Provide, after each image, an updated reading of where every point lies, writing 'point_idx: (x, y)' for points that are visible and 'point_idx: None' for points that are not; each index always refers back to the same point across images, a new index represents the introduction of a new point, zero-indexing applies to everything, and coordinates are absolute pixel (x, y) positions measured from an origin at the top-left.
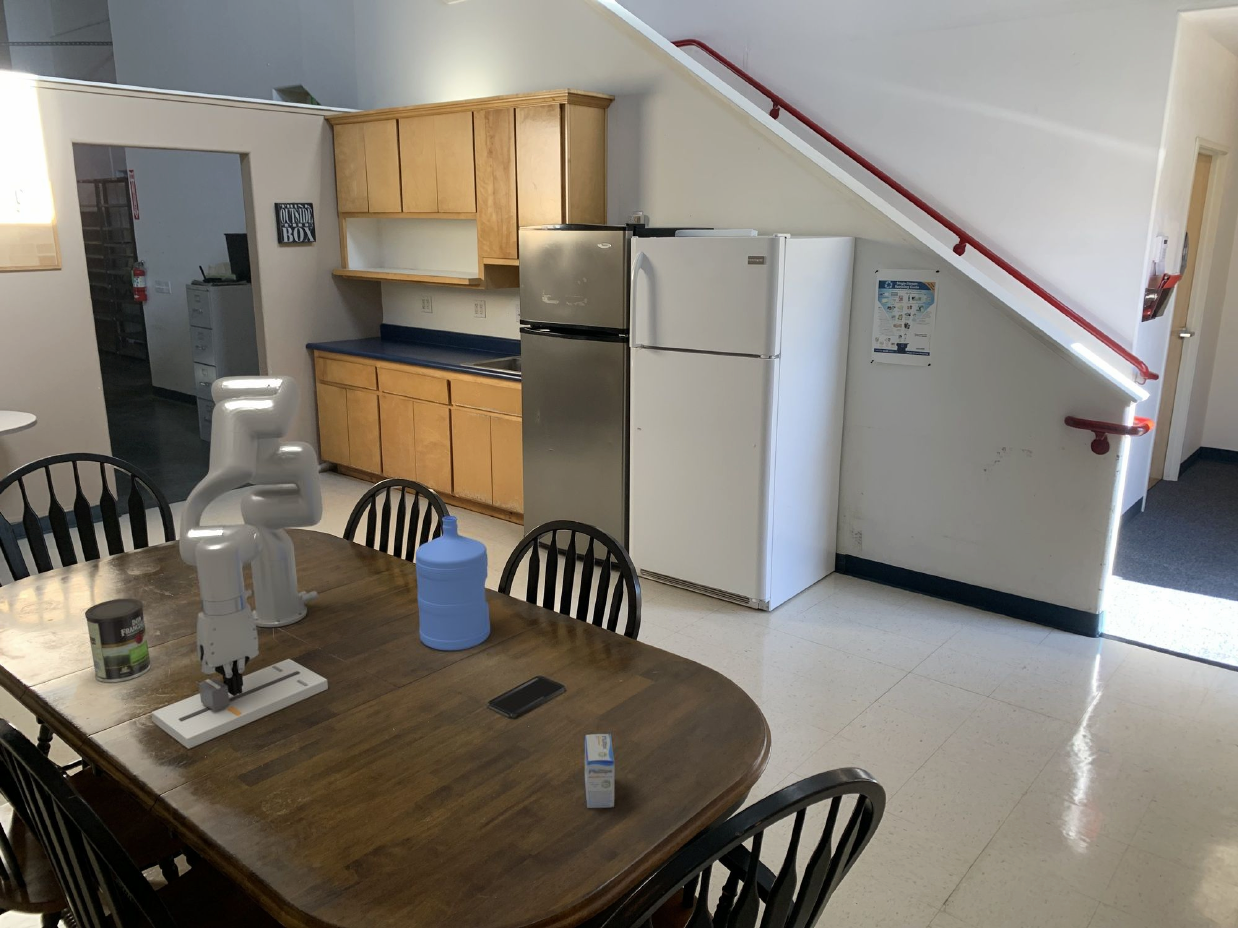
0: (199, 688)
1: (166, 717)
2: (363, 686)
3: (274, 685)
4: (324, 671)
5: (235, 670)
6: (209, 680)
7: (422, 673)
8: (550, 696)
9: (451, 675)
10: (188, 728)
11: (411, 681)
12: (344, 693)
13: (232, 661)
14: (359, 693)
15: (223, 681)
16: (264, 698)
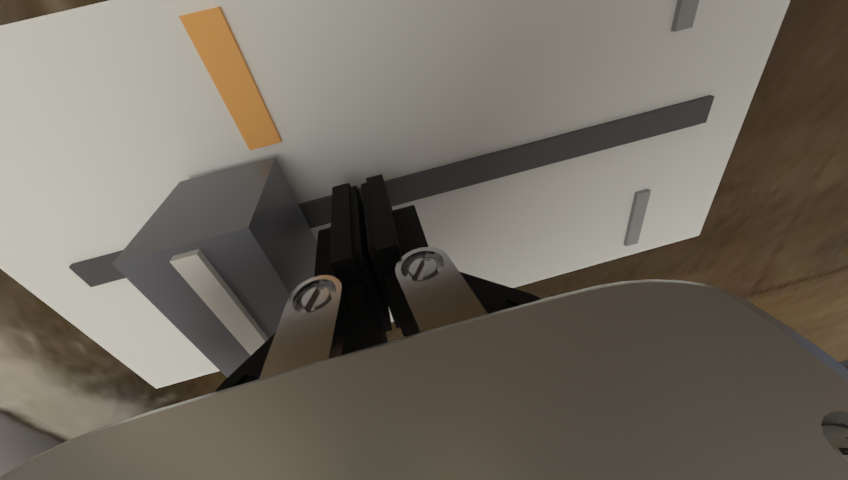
0: (137, 236)
1: None
2: (725, 251)
3: (557, 175)
4: (785, 65)
5: (406, 334)
6: (207, 276)
7: (841, 259)
8: None
9: (842, 295)
10: (148, 339)
11: (790, 281)
12: (668, 263)
13: (417, 325)
14: (686, 280)
15: (316, 261)
16: (472, 257)
